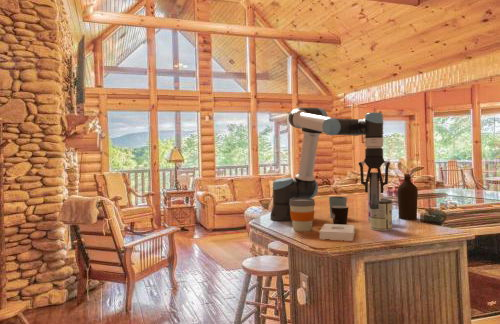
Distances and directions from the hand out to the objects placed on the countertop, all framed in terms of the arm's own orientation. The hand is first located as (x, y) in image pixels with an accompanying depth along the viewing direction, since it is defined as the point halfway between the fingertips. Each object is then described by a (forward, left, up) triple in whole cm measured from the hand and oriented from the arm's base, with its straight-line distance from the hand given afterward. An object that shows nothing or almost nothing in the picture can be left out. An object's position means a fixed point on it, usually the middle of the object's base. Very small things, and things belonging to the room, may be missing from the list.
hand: (374, 200), depth 167 cm
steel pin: (0, 0, -4) cm, 4 cm away
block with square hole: (+2, -16, -16) cm, 23 cm away
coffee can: (-19, +3, -17) cm, 25 cm away
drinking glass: (-47, -20, -17) cm, 53 cm away
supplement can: (-38, +1, -17) cm, 41 cm away
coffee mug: (-22, -17, -16) cm, 32 cm away
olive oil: (-53, +18, -17) cm, 58 cm away
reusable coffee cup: (-8, -34, -17) cm, 38 cm away
